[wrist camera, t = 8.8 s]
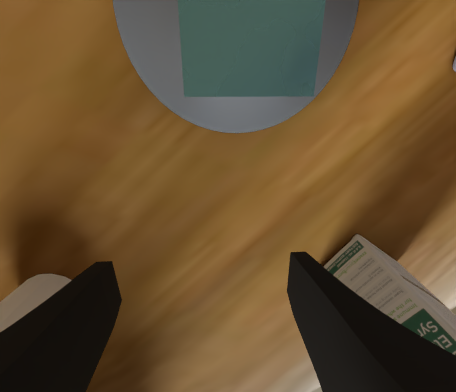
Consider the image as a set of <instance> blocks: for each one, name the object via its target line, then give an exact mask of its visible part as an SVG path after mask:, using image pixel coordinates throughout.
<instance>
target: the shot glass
mask: <svg viewBox="0 0 456 392" xmlns="http://www.w3.org/2000/svg"><path fill="white" fill-rule="evenodd" d="M70 281H72V280H70V279H69V278H67V277H65V276H60V275H56V274H38V275H36V276H34V277H31V278H29V279H27V280H26V281H25V282H24V283H23V284H21V285H20V286H19V287H18V288H17V289H15V290H14V291H13V292H12V293H11V294H9V295H8V296H7V297H6V298H5V299H4V300H2V301H1V302H0V332H2V331H3V330H5V329H6V328H8V327H9V326H11V325H12V324H13V323H15V322H16V321H18V320H19V319H20V318H22V317H23V316H25V315H26V314H27V313H29V312H30V311H32V310H33V309H34V308H36V307H37V306H39V305H40V304H41V303H43V302H44V301H46V300H47V299H48V298H50V297H51V296H52V295H53V294H55V293H56V292H57V291H59V290H60V289H61V288H63V287H64V286H65V285H67V284H68V283H69V282H70Z"/></svg>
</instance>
